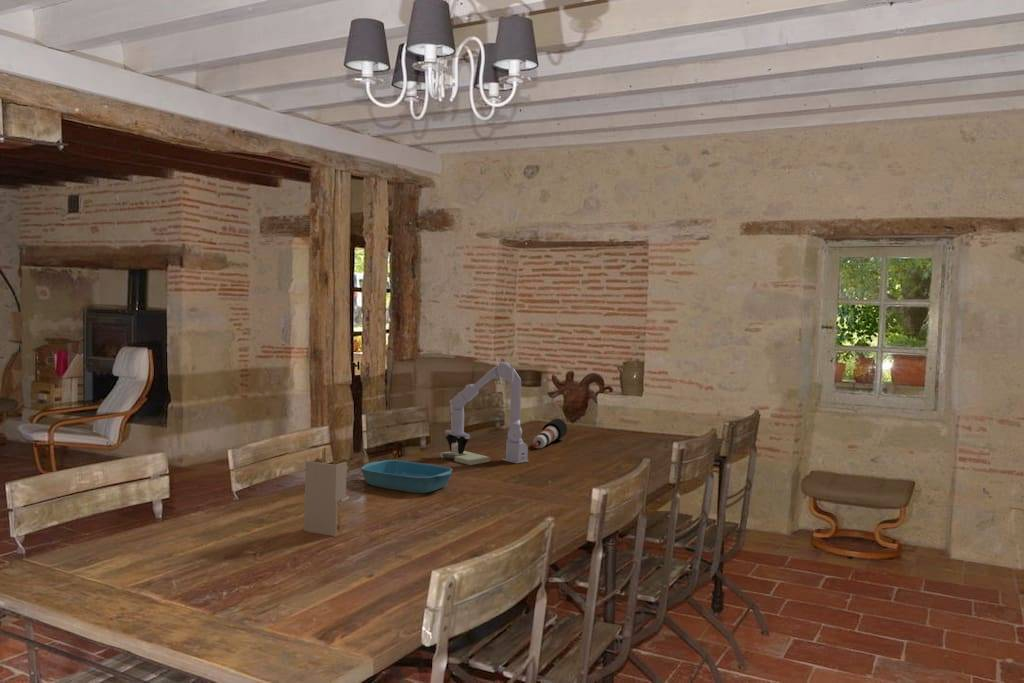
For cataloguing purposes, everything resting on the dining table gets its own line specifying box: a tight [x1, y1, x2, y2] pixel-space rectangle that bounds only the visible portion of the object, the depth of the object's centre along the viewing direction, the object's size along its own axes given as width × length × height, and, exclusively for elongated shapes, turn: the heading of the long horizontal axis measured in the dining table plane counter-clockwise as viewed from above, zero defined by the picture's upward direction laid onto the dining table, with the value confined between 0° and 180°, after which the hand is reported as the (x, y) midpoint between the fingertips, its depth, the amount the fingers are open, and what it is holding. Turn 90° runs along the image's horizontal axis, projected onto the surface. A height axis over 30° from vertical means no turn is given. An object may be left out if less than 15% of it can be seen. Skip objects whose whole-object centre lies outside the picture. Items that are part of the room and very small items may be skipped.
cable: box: [532, 418, 568, 449], centre depth 402 cm, size 10×34×10 cm, turn 158°
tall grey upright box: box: [303, 447, 350, 538], centre depth 246 cm, size 8×12×26 cm
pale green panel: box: [439, 450, 491, 466], centre depth 359 cm, size 20×12×2 cm, turn 45°
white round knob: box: [451, 442, 462, 456], centre depth 361 cm, size 5×5×5 cm
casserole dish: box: [361, 459, 453, 494], centre depth 308 cm, size 37×22×7 cm, turn 62°
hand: (456, 452), depth 361 cm, fingers closed on white round knob, 5 cm apart
